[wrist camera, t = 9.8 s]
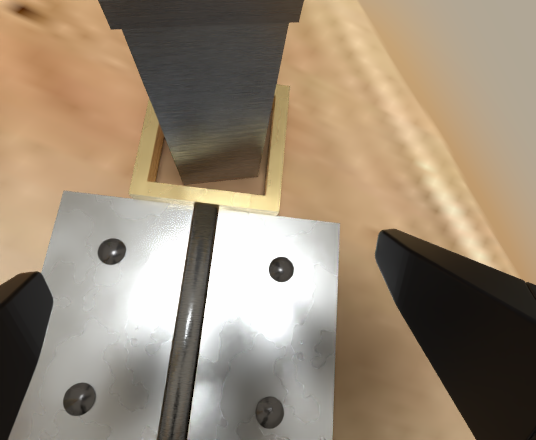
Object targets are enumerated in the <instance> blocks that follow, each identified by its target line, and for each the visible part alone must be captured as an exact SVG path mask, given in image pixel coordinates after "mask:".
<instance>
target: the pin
mask: <svg viewBox="0 0 536 440" xmlns="http://www.w3.org/2000/svg"><path fill="white" fill-rule="evenodd" d="M98 1H99V3H100V5H101V8H102V10H103V12H104V14H105V17H106V19H107V21H108V24H109V26H110V28H111V30H112V29H122V31H123V34H124V36H125V39H126V41H127V44H128V46H129V49H130V51H131V54H132V56H133V59H134V61H135V64H136V66H137V69H138V71H139V74H140V76H141V79H142V81H143V84H144V86H145V89H146V91H147V94H148V96H149V99H150V101H151V104H152V106H153V109H154V111H155V114H156V116H157V119H158V121H159V124H160V126H161V129H162V131H163V134H164V136H165V139H166V141H167V144H168V146H169V149H170V151H171V154H172V156H173V159H174V161H175V164H176V166H177V169H178V171H179V174H180V176H181V179H182V181H183V184H184V185H186V184H195V183H204V182H214V181H223V180H233V179H242V178H251V177H258V173H259V168H260V163H261V158H262V153H263V148H264V143H265V138H266V133H267V128H268V123H269V119H270V114H271V109H272V104H273V99H274V94H275V89H276V84H277V79H278V74H279V69H280V64H281V59H282V54H283V49H284V44H285V39H286V34H287V30H288V25H289V23H290V22H299V19H300V14H301V10H302V6H303V2H304V0H98Z"/></svg>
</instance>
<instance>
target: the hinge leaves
mask: <svg viewBox="0 0 536 440" xmlns="http://www.w3.org/2000/svg"><path fill="white" fill-rule="evenodd" d="M289 91H290V86H285V85H278V84H276V89H275V94H274V99H273V104H272V109H271V110H273V113H272V123H271V133H270V143H269V153H268V163H267V173H266V183H265V193H264V196H262V195H253V194H245V193H237V192H229V191H221V190H213V189H205V188H197V187H188V186H180V185H172V184H164V183H156V182H155V181H156V175H157V170H158V165H159V160H160V155H161V150H162V145H163V140H164V134H163V131H162V129H161V126H160V124H159V121H158V119H157V116H156V114H155V111H154V109H153V106H152V104H151V101H150V99H149V102H148V106H147V111H146V115H145V120H144V125H143V129H142V134H141V138H140V143H139V148H138V152H137V157H136V162H135V166H134V171H133V175H132V180H131V185H130V189H129V195H130V196H131V197H132V198H133V199H129V198H121V197H112V196H104V195H95V194H87V193H78V192H70V191H64V192H63V195H62V199H61V203H60V206H59V210H58V214H57V217H56V221H55V225H54V228H53V232H52V235H51V239H50V243H49V246H48V250H47V254H46V257H45V261H44V265H43V268H42V272H41V274H42V275H43V276H44V278H45V281H46V283H47V285H48V287H49V289H50V291H51V293H52V295H53V301H54V302H53V308H52V312H51V316H50V319H49V323H48V327H47V331H46V335H45V339H44V342H43V346H42V350H41V354H40V357H39V360H38V363H37V366H36V369H35V372H34V374H33V377H32V379H31V382H30V384H29V387H28V390H27V392H26V395H25V397H24V400H23V402H22V405H21V408H20V410H19V413H18V415H17V418H16V421H15V423H14V426H13V428H12V431H11V433H10V436H9V439H8V440H185V436H186V429H187V422H188V415H189V407H190V400H191V393H192V386H193V379H194V371H195V364H196V357H197V350H198V343H199V336H200V328H201V321H202V314H203V307H204V300H205V293H206V285H207V278H208V271H209V264H210V257H211V250H212V242H213V235H214V228H215V221H216V214H217V212H218V220H217V227H216V234H215V241H214V248H213V256H212V263H211V270H210V277H209V285H208V292H207V299H206V306H205V314H204V321H203V328H202V335H201V343H200V350H199V357H198V364H197V372H196V379H195V386H194V393H193V401H192V408H191V415H190V422H189V430H188V437H187V440H332V434H333V406H334V377H335V349H336V320H337V292H338V263H339V235H340V223H331V222H323V221H315V220H306V219H298V218H289V217H281V216H277V215H278V213H279V207H280V195H281V183H282V172H283V160H284V149H285V137H286V126H287V114H288V103H289ZM192 225H193V226H192ZM191 231H192V232H191ZM189 244H190V245H189ZM188 250H189V251H188ZM185 269H186V270H185ZM182 288H183V289H182ZM179 307H180V308H179ZM176 326H177V327H176ZM173 345H174V346H173ZM170 364H171V365H170ZM167 383H168V384H167ZM164 402H165V403H164ZM161 421H162V422H161ZM160 427H161V428H160Z"/></svg>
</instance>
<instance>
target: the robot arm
mask: <svg viewBox="0 0 536 440" xmlns="http://www.w3.org/2000/svg"><path fill="white" fill-rule="evenodd" d="M375 259H376V262H377V264H378V267H379V269H380V271H381V273H382V275H383V278H384V280H385V282H386V284H387V286H388V289H389V291H390V293H391V295H392V297H393V300H394V302H395V304H396V306H397V307H398V309H399V311H400V313H401V314H402V316H403V318H404V319H405V321H406V323H407V324H408V326H409V328H410V329H411V331H412V333H413V334H414V336H415V338H416V340H417V341H418V343H419V345H420V346H421V348H422V350H423V351H424V353H425V355H426V356H427V358H428V360H429V361H430V363H431V365H432V366H433V368H434V370H435V371H436V373H437V375H438V376H439V378H440V380H441V381H442V383H443V385H444V387H445V388H446V390H447V392H448V393H449V395H450V397H451V398H452V400H453V402H454V403H455V405H456V407H457V408H458V410H459V412H460V413H461V415H462V417H463V418H464V420H465V422H466V423H467V425H468V427H469V429H470V430H471V432H472V434H473V435H474V437H475V439H476V440H536V285H534V284H531V283H529V282H526V283H525V281H524V280H521V279H519V278H516V277H514V276H511V275H509V274H506V273H504V272H501V271H499V270H496V269H494V268H491V267H489V266H486V265H484V264H481V263H479V262H476V261H474V260H471V259H469V258H466V257H464V256H461V255H459V254H457V253H454V252H452V251H449V250H447V249H444V248H442V247H439V246H437V245H434V244H432V243H429V242H427V241H424V240H422V239H419V238H417V237H414V236H412V235H409V234H407V233H404V232H402V231H399V230H397V229H387V230H382V231H380V233H379V235H378V240H377V246H376V251H375ZM53 302H54V301H53V295H52V293H51V291H50V289H49V287H48V285H47V283H46V281H45V278H44V276H43V275H42V274H41V273H40V272H37V271H35V272H27V273H21V274H18V275H16V276H15V277H13V278H11V279H10V280H8V281H7V282H5V283H3V284H2V285H0V440H8V439H9V436H10V433H11V431H12V428H13V426H14V423H15V421H16V418H17V415H18V413H19V410H20V408H21V405H22V402H23V400H24V397H25V395H26V392H27V390H28V387H29V384H30V382H31V379H32V377H33V374H34V372H35V369H36V366H37V363H38V360H39V357H40V354H41V350H42V346H43V342H44V339H45V335H46V331H47V327H48V323H49V319H50V316H51V312H52V308H53Z"/></svg>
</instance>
